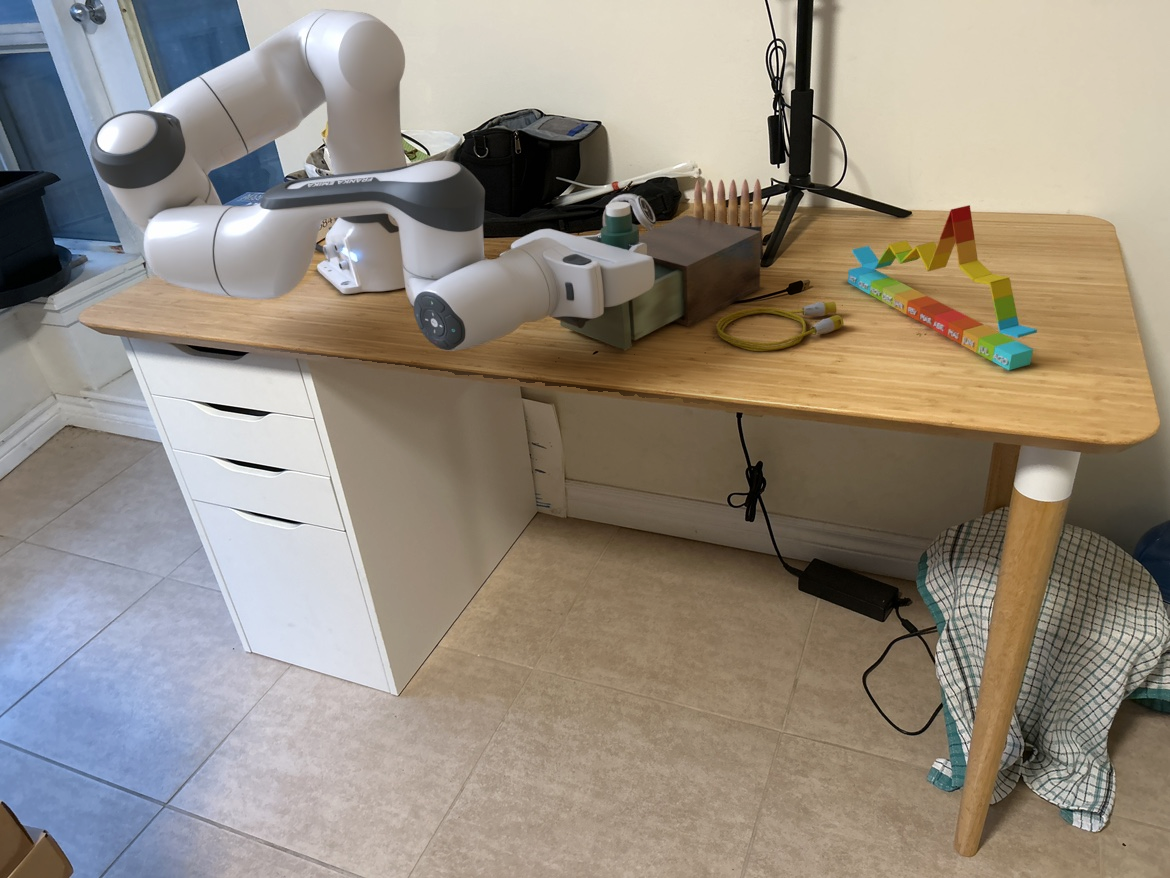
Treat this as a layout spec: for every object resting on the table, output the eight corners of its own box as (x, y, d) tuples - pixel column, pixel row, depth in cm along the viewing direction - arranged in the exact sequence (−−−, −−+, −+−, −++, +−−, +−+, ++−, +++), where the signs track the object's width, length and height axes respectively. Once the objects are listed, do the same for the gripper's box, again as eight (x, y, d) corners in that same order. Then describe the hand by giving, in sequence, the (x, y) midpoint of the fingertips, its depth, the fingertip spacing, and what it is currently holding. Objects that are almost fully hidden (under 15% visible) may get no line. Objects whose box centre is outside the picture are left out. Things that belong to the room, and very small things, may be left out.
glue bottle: (598, 304, 112) (590, 207, 105) (624, 292, 115) (618, 197, 108) (624, 313, 109) (617, 213, 102) (650, 301, 112) (645, 203, 105)
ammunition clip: (692, 258, 133) (690, 181, 126) (694, 254, 134) (692, 178, 128) (761, 259, 130) (763, 180, 123) (763, 255, 131) (764, 177, 125)
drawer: (600, 363, 104) (596, 312, 100) (536, 337, 112) (530, 289, 108) (700, 311, 114) (699, 264, 110) (635, 291, 122) (632, 246, 118)
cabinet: (688, 326, 112) (686, 266, 108) (616, 303, 121) (612, 246, 116) (759, 288, 120) (761, 231, 116) (688, 269, 129) (686, 215, 125)
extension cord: (840, 356, 101) (842, 341, 100) (709, 349, 106) (709, 335, 105) (844, 313, 111) (845, 299, 110) (724, 309, 116) (724, 295, 114)
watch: (655, 272, 129) (651, 200, 123) (603, 272, 131) (597, 202, 125) (660, 258, 134) (657, 189, 128) (610, 259, 136) (605, 190, 130)
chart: (846, 282, 119) (854, 175, 111) (865, 278, 120) (875, 171, 112) (1006, 371, 95) (1032, 242, 87) (1030, 364, 96) (1057, 235, 88)
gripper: (494, 283, 109) (573, 251, 117) (604, 322, 96) (685, 284, 103) (487, 235, 106) (569, 206, 113) (600, 270, 92) (684, 234, 100)
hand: (625, 243), depth 108 cm, fingers closed on glue bottle, 5 cm apart
